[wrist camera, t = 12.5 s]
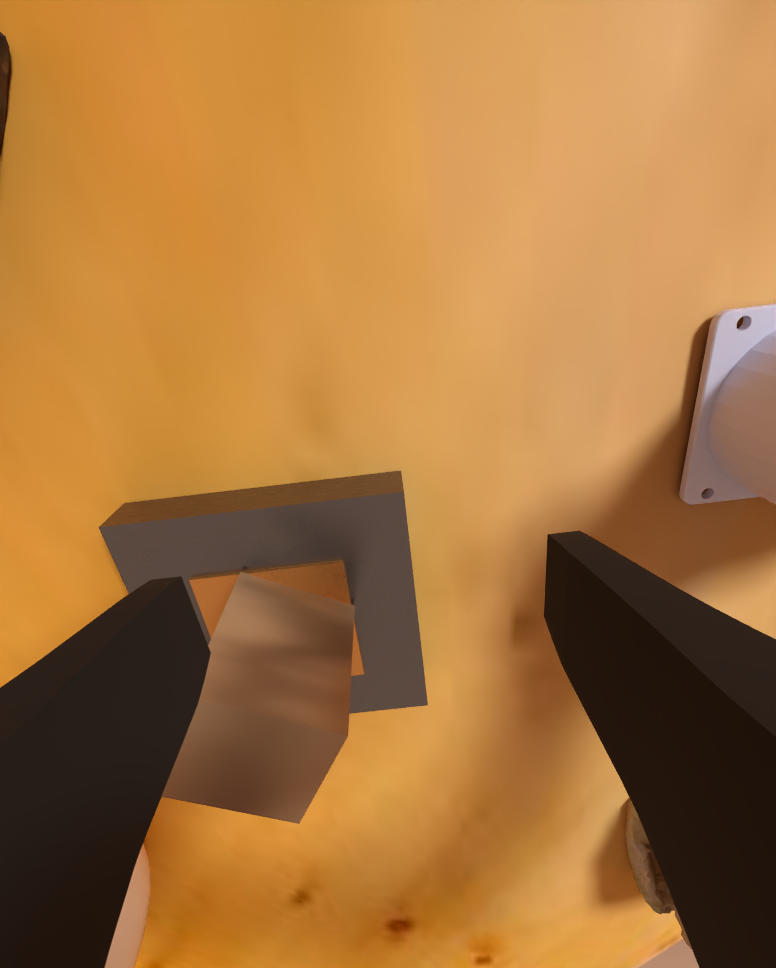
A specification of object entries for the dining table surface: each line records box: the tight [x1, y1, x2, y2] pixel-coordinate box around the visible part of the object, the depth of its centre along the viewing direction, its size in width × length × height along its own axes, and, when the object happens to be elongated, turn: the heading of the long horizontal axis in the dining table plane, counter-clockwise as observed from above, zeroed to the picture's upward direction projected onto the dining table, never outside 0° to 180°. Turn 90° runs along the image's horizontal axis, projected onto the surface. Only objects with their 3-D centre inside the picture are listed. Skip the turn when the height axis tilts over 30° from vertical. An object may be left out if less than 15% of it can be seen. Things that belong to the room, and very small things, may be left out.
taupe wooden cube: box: [161, 572, 355, 824], centre depth 17 cm, size 5×5×6 cm
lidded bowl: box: [105, 843, 151, 968], centre depth 24 cm, size 13×13×11 cm
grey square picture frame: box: [99, 471, 428, 713], centre depth 21 cm, size 12×12×2 cm
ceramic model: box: [626, 799, 692, 949], centre depth 27 cm, size 14×11×10 cm
